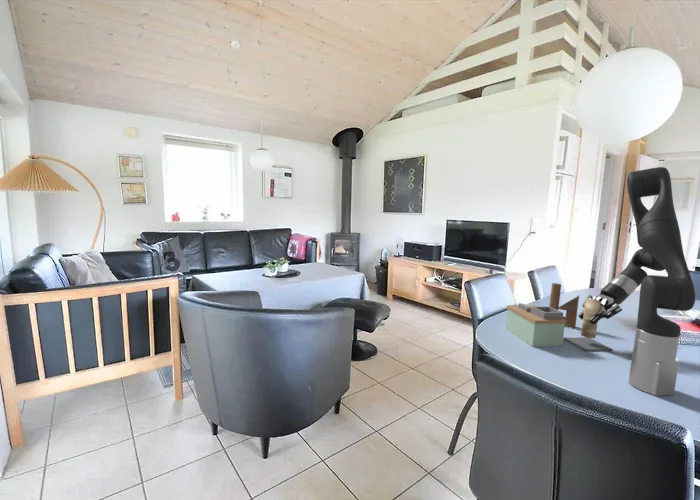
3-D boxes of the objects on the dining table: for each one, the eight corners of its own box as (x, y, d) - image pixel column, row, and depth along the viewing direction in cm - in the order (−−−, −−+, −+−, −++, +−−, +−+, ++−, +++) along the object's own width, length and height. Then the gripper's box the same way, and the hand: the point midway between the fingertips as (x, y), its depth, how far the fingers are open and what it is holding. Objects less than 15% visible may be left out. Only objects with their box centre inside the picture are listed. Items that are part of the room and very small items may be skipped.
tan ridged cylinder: (598, 338, 128) (603, 302, 126) (587, 338, 127) (592, 302, 125) (588, 333, 132) (593, 298, 130) (577, 333, 132) (582, 298, 130)
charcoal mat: (612, 350, 125) (612, 349, 125) (584, 351, 124) (585, 349, 124) (588, 338, 136) (588, 337, 136) (563, 339, 135) (563, 337, 135)
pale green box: (564, 346, 128) (568, 313, 126) (532, 346, 126) (535, 314, 125) (533, 328, 146) (536, 299, 144) (504, 328, 145) (507, 299, 143)
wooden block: (573, 328, 147) (578, 288, 145) (546, 322, 155) (550, 283, 152) (575, 326, 150) (580, 286, 148) (548, 320, 157) (552, 282, 155)
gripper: (597, 278, 134) (566, 307, 135) (630, 287, 120) (595, 320, 121) (608, 291, 136) (576, 320, 136) (642, 301, 122) (606, 334, 122)
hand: (585, 320), depth 129 cm, fingers closed on tan ridged cylinder, 4 cm apart
